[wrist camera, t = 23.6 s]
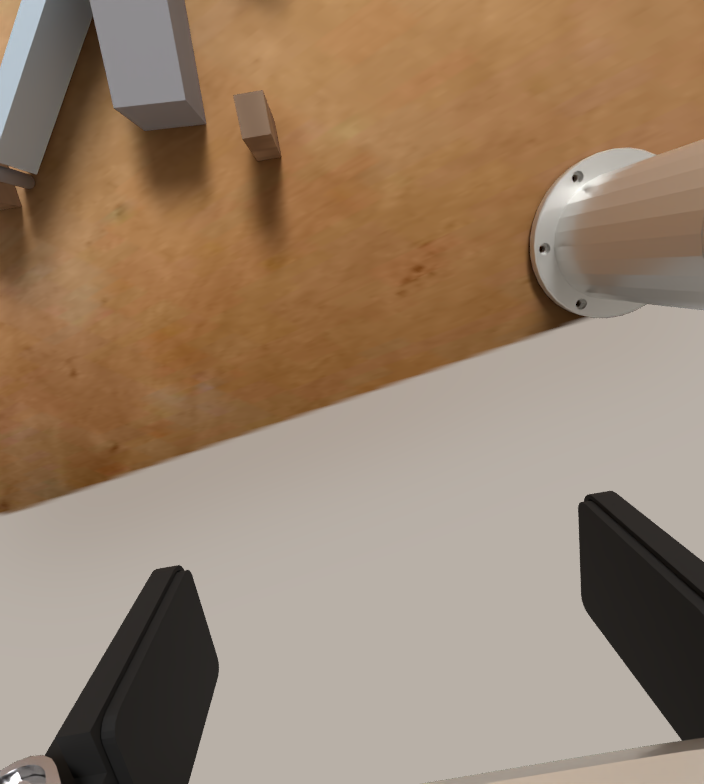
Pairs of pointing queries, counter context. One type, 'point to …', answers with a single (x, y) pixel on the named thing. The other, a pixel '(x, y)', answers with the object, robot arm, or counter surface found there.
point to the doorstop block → (149, 62)
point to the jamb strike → (257, 125)
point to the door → (37, 80)
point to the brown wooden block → (8, 195)
